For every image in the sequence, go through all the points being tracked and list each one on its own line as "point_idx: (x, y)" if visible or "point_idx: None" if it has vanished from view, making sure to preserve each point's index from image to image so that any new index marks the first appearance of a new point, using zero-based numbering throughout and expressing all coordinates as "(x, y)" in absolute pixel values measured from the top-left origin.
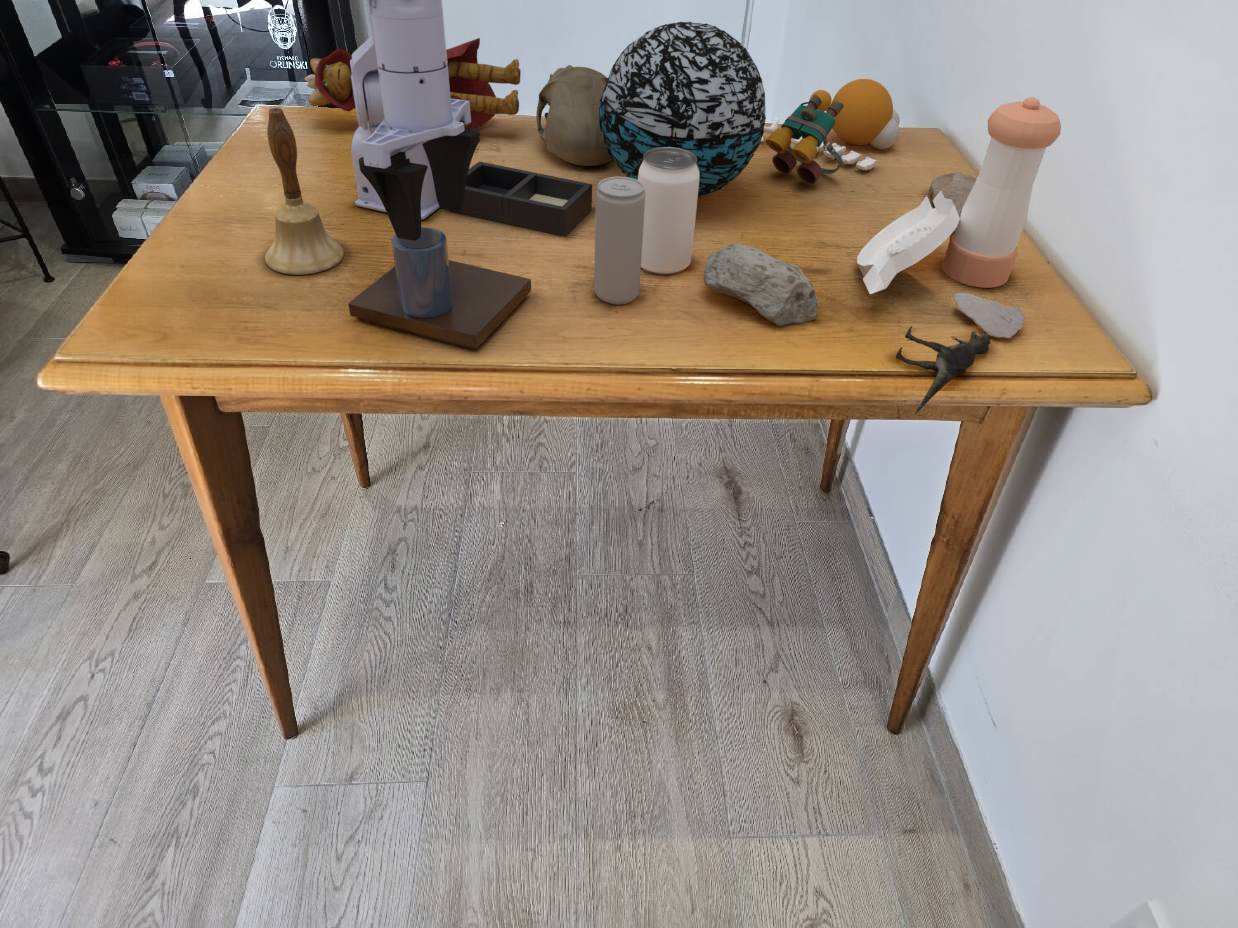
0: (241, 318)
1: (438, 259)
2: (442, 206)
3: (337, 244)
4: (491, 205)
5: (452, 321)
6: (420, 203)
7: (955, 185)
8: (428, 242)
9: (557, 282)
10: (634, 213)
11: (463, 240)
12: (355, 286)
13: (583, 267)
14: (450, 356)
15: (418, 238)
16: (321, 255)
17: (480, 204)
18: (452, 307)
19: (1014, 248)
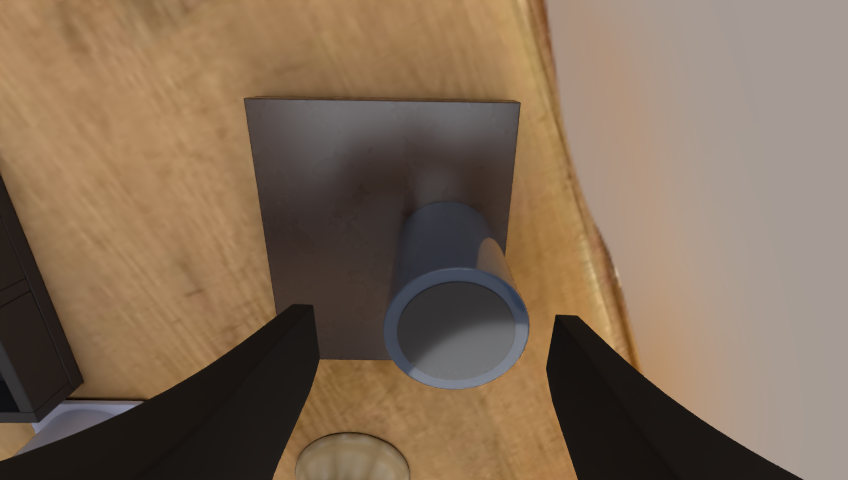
0: (534, 455)
1: (480, 255)
2: (316, 356)
3: (311, 460)
4: (22, 323)
5: (484, 174)
6: (613, 388)
7: None
8: (468, 303)
9: (174, 66)
10: None
11: (155, 315)
12: (392, 383)
13: (73, 35)
14: (533, 144)
15: (567, 316)
16: (362, 460)
17: (35, 343)
18: (434, 200)
19: None
